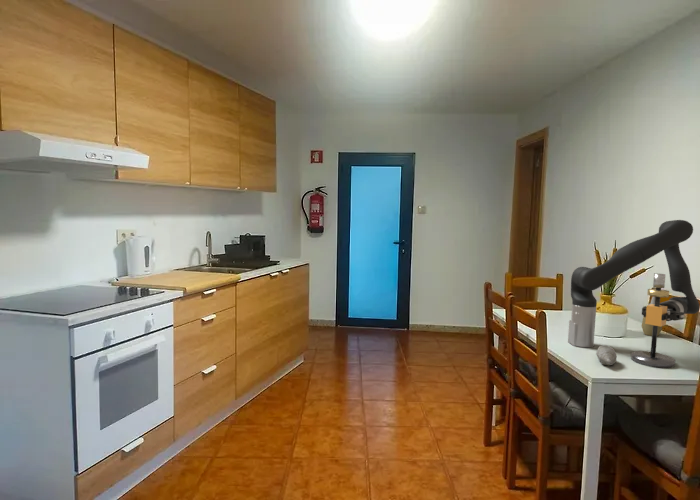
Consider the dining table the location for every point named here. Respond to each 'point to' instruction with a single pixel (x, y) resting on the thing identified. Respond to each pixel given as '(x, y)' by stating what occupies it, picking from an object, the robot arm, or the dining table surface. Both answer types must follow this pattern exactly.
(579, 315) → the robot arm
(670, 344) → the dining table surface
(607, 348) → the grey stone
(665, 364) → the post
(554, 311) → the dining table surface
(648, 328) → the squeeze bottle
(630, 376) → the dining table surface
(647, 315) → the sleeve
